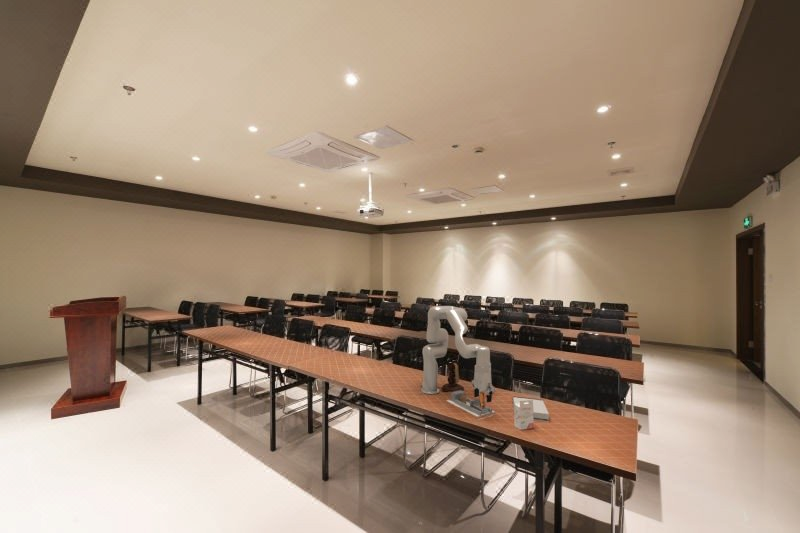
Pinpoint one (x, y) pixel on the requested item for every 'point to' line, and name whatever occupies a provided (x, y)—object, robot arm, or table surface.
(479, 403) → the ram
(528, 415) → the ink cartridge box
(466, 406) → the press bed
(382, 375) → the table surface
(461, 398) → the nut
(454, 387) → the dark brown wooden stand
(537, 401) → the disc drive
